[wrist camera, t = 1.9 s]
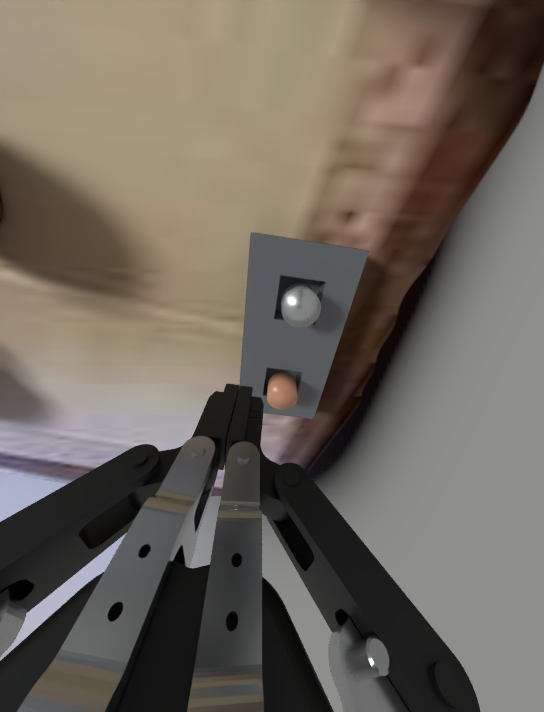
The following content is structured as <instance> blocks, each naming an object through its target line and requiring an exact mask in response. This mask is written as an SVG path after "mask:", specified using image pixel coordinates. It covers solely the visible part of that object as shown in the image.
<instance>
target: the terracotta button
mask: <svg viewBox="0 0 544 712" xmlns="http://www.w3.org/2000/svg"><path fill="white" fill-rule="evenodd" d="M297 400H298V395H297V387H296V381H295V379H294V377H293V376H291V375H290V374H287V373H277V374H275V375H273V376H272V377H271V378H270V379H269V381H268V391H267V401H268V403H269V405H270V406H272V407H273V408H275V409H279V410H286V409H290V408H292V407H293V406H294V405H295V404H296V403H297Z"/></svg>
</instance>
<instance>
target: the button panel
mask: <svg viewBox="0 0 544 712" xmlns="http://www.w3.org/2000/svg"><path fill="white" fill-rule="evenodd" d="M368 253H369V251H366V250H361V249H355V248H349V247H343V246H336V245H330V244H324V243H317V242H311V241H304V240H298V239H292V238H285V237H279V236H273V235H266V234H260V233H251V236H250V250H249V264H248V277H247V291H246V305H245V318H244V332H243V346H242V359H241V373H240V386H241V385H242V386H249V387H253V391H252V396H254V397H261V399H262V401H263V404H264V409H263V413H268V414H277V415H285V416H293V417H302V418H310V419H314V416H315V413H316V410H317V407H318V404H319V401H320V398H321V395H322V392H323V389H324V386H325V383H326V380H327V377H328V374H329V371H330V368H331V365H332V362H333V359H334V356H335V353H336V350H337V347H338V344H339V341H340V338H341V335H342V332H343V329H344V326H345V323H346V320H347V317H348V314H349V311H350V308H351V305H352V302H353V299H354V296H355V293H356V290H357V286H358V283H359V280H360V277H361V274H362V271H363V268H364V265H365V262H366V259H367V256H368ZM296 283H304V284H307V285H309V286H310V287H311V288H312V289H313V290H314V292H315V293H316V295H317V296H318V298H319V300H320V303H321V312H320V315H319V317H318V319H317V320H316V321H315V322H314V323H313V324H311V325H310V326H307V327H304V328H297V327H293V326H291V325H289V324H288V323H287V322H286V321H285V320H284V318H283V316H282V311H281V298H282V295H283V293H284V291H285V290H286V289H287V288H288V287H289V286H291V285H293V284H296ZM277 373H287V374H290V375H291V376H293V377H294V379H295V381H296V387H297V395H298V400H297V403H296V404H295V405H294V406H293V407H292V408H290V409H286V410H279V409H275V408H273V407H272V406H270V405H269V403H268V401H267V391H268V381H269V379H270V378H271V377H272V376H273V375H275V374H277Z"/></svg>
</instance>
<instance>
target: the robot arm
mask: <svg viewBox="0 0 544 712" xmlns="http://www.w3.org/2000/svg"><path fill="white" fill-rule="evenodd" d="M252 391H253V387H249V386H242V385H241V386H240V385H234V384H226V387H225V390H224V392H218V391H215V392H214V393H213V394H212V395H211V396H210V397H209V399H208V401H207V404H206V406H205V408H204V411H203V413H202V415H201V418H200V420H199V423H198V425H197V427H196V430H195V432H194V434H193V436H192V438H191V439H189V440H188V441H187V442H185V444H184V445H183V446H181V447H179V448H176V449H171V450H165V451H158V449H157V448H156V447H155V446H153V445H149V444H143V445H138V446H135V447H133V448H131V449H129V450H128V451H126V452H124V453H122V454H121V455H119V456H117V457H115V458H113V459H112V460H110V461H108V462H106V463H104V464H103V465H101V466H99V467H97V468H96V469H94V470H92V471H90V472H88V473H87V474H85V475H83V476H81V477H80V478H78V479H76V480H74V481H72V482H71V483H69V484H67V485H65V486H64V487H62V488H60V489H58V490H56V491H55V492H53V493H51V494H49V495H48V496H46V497H44V498H42V499H41V500H39V501H37V502H35V503H33V504H31V505H30V506H28V507H26V508H24V509H23V510H21V511H19V512H17V513H15V514H14V515H12V516H10V517H8V518H7V519H5V520H3V521H1V522H0V656H1V655H2V654H3V653H4V652H5V651H6V650H7V649H8V648H9V647H10V646H11V644H12V643H13V642H14V640H15V639H16V637H17V635H18V633H19V631H20V629H21V627H22V625H23V623H24V620H25V617H26V613H27V612H28V611H30V610H31V609H32V608H34V607H35V606H36V605H37V604H39V603H40V602H41V601H42V600H43V599H45V598H46V597H47V596H48V595H50V594H51V593H52V592H53V591H55V590H56V589H57V588H58V587H60V586H61V585H62V584H63V583H65V582H66V581H67V580H68V579H69V578H71V577H72V576H73V575H74V574H76V573H77V572H78V571H79V570H81V569H82V568H83V567H84V566H86V565H87V564H88V563H89V562H90V561H92V560H93V559H94V558H95V557H97V556H98V555H99V554H101V553H102V552H103V551H104V550H105V549H107V548H108V547H109V546H110V545H112V544H113V543H114V542H115V541H117V540H118V539H119V538H120V537H122V536H123V535H124V534H125V533H127V534H126V535H125V537H124V539H123V541H122V542H121V544H120V546H119V547H118V549H117V551H116V553H115V555H114V557H113V558H112V560H111V561H110V564H109V565H108V567H107V568H106V570H105V572H103V573H102V574H100V575H98V576H97V577H95V578H94V579H93V580H91V581H90V582H89V583H87V584H86V585H85V586H84V587H83V588H81V589H80V590H79V591H78V592H77V593H76V594H75V595H74V596H72V597H71V598H70V599H69V600H68V601H67V602H66V603H65V604H63V605H62V606H61V607H60V608H59V609H58V610H57V611H56V612H55V613H53V614H52V615H51V616H50V617H49V618H48V619H47V620H46V621H45V622H43V623H42V624H41V625H40V626H39V627H38V628H37V629H36V630H34V631H33V632H32V633H31V634H30V635H29V636H28V637H27V638H26V639H24V640H23V641H22V642H21V643H20V644H19V645H18V646H17V647H15V648H14V649H13V650H12V651H11V652H10V653H9V654H8V655H7V656H6V657H4V658H3V659H2V660H1V661H0V712H333V709H332V707H331V705H330V703H329V701H328V698H327V696H326V694H325V692H324V690H323V688H322V685H321V683H320V681H319V679H318V677H317V674H316V672H315V670H314V668H313V666H312V664H311V662H310V659H309V657H308V655H307V653H306V651H305V648H304V646H303V644H302V642H301V640H300V637H299V635H298V633H297V631H296V629H295V627H294V624H293V622H292V620H291V618H290V616H289V614H288V612H287V609H286V607H285V605H284V603H283V601H282V599H281V598H280V596H279V594H278V593H277V592H276V590H275V589H274V588H273V587H272V585H271V584H270V583H269V582H268V581H267V580H266V579H264V578H263V577H262V514H264V515H265V516H267V519H268V521H269V523H270V525H271V526H272V528H273V530H274V532H275V533H276V535H277V537H278V539H279V540H280V542H281V544H282V546H283V547H284V549H285V551H286V552H287V554H288V556H289V558H290V560H291V561H292V563H293V565H294V566H295V568H296V570H297V572H298V573H299V575H300V577H301V579H302V580H303V582H304V584H305V586H306V587H307V589H308V591H309V593H310V594H311V596H312V598H313V600H314V601H315V603H316V605H317V607H318V608H319V610H320V612H321V614H322V615H323V617H324V619H325V620H326V622H327V624H328V626H329V628H330V629H331V631H332V634H331V638H330V641H329V649H328V655H329V665H330V670H331V674H332V677H333V680H334V683H335V685H336V687H337V690H338V692H339V695H340V698H341V702H342V706H343V711H344V712H480V708H479V704H478V700H477V697H476V694H475V691H474V689H473V686H472V684H471V682H470V680H469V678H468V676H467V674H466V672H465V670H464V668H463V667H462V665H461V664H460V662H459V661H458V659H457V658H456V657H455V655H454V654H453V653H452V652H451V650H450V649H449V648H448V647H447V645H446V644H445V643H444V642H443V641H442V639H441V638H440V637H439V636H438V634H437V633H436V632H435V631H434V629H433V628H432V627H431V626H430V624H429V623H428V622H427V621H426V620H425V618H424V617H423V616H422V614H421V613H420V612H419V611H418V610H417V608H416V607H415V606H414V605H413V603H412V602H411V601H410V600H409V599H408V597H407V596H406V595H405V594H404V592H403V591H402V590H401V589H400V588H399V586H398V585H397V584H396V583H395V581H394V580H393V579H392V577H390V575H389V574H388V573H387V571H386V570H385V569H384V568H383V566H382V565H381V564H380V563H379V561H378V560H377V559H376V558H375V557H374V555H373V554H372V553H371V552H370V551H369V549H368V548H367V547H366V545H365V544H364V543H363V542H362V541H361V539H360V538H359V537H358V536H357V534H356V533H355V532H354V531H353V530H352V528H351V527H350V526H349V525H348V523H347V522H346V521H345V520H344V518H343V517H342V516H341V515H340V514H339V512H338V511H337V510H336V508H335V507H334V506H333V505H332V503H331V502H330V501H329V500H328V499H327V497H326V496H325V495H324V494H323V492H322V491H321V490H320V489H319V487H318V486H317V485H316V484H315V483H314V481H313V480H312V479H311V478H310V476H309V475H308V474H307V473H306V471H305V470H304V469H303V468H302V467H301V466H299V465H297V464H295V463H284V464H282V465H279V464H276V463H274V462H272V461H270V460H269V459H268V458H266V457H265V455H264V454H263V452H262V450H261V447H260V442H261V431H262V419H263V409H264V404H263V401H262V399H261V397H254V396H252ZM224 465H225V475H224V482H223V488H222V495H221V502H220V507H219V511H218V517H217V523H216V530H215V536H214V542H213V549H212V555H211V562H210V565H206V566H202V567H198V568H193V569H192V568H189V567H190V564H191V561H192V557H193V554H194V550H195V546H196V541H197V536H198V533H199V530H200V527H201V524H202V521H203V517H204V515H205V512H206V508H207V505H208V503H209V500H210V497H211V494H212V491H213V488H214V483H215V480H216V476H217V472H218V469H219V470H223V469H224Z"/></svg>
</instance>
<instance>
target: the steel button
mask: <svg viewBox="0 0 544 712" xmlns="http://www.w3.org/2000/svg"><path fill="white" fill-rule="evenodd" d="M281 311H282V316H283V318H284V320H285V321H286V322H287V323H288V324H289V325H291V326H293V327H297V328H304V327H307V326H310V325H311V324H313V323H314V322H315V321H316V320H317V319H318V317H319V315H320V312H321V303H320V300H319V298H318V296H317V295H316V293H315V292H314V290H313V289H312V288H311V287H310V286H309V285H307V284H304V283H296V284H293V285H291V286H289V287H288V288H287V289H286V290H285V291H284V293H283V295H282V298H281Z"/></svg>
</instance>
